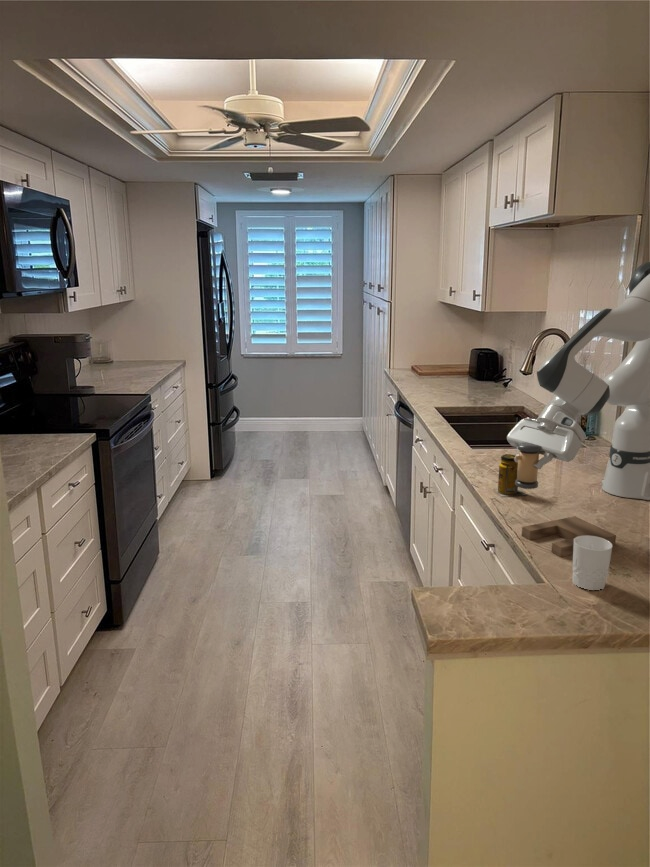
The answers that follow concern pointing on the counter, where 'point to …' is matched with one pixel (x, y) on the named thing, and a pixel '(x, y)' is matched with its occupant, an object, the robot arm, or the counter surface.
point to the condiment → (508, 477)
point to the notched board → (566, 533)
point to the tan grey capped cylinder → (527, 465)
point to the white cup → (591, 562)
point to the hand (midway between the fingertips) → (526, 464)
